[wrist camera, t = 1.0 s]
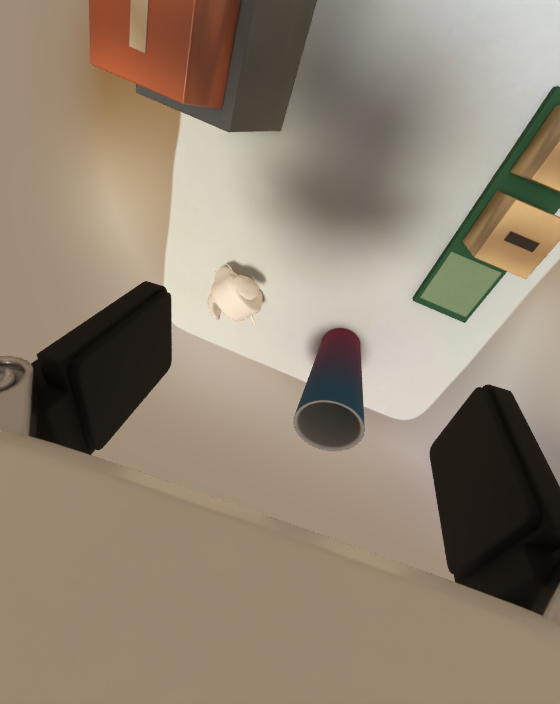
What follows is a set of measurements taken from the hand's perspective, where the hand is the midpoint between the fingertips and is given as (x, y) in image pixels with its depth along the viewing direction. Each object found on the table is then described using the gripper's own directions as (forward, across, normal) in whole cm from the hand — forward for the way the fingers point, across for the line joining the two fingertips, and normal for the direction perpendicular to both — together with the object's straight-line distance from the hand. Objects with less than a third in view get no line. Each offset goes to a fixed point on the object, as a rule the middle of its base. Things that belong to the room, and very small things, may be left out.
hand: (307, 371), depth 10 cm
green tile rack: (+29, -14, -1) cm, 33 cm away
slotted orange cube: (+16, +12, -8) cm, 21 cm away
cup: (+30, -4, +17) cm, 34 cm away
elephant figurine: (+30, +10, +13) cm, 34 cm away
